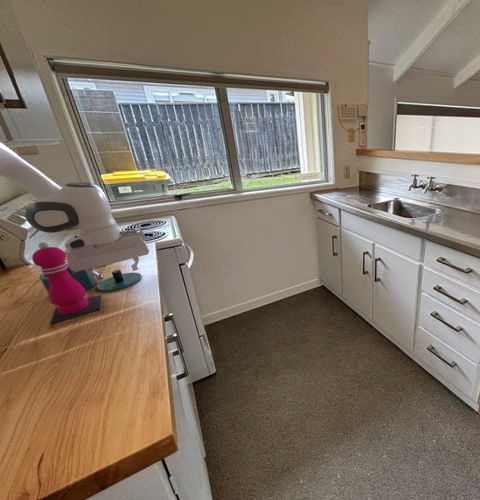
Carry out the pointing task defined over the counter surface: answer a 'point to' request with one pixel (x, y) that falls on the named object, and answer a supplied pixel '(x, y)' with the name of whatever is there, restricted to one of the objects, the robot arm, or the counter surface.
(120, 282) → the lid
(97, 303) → the mat
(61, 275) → the pepper mill
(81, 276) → the pot
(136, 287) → the counter surface
